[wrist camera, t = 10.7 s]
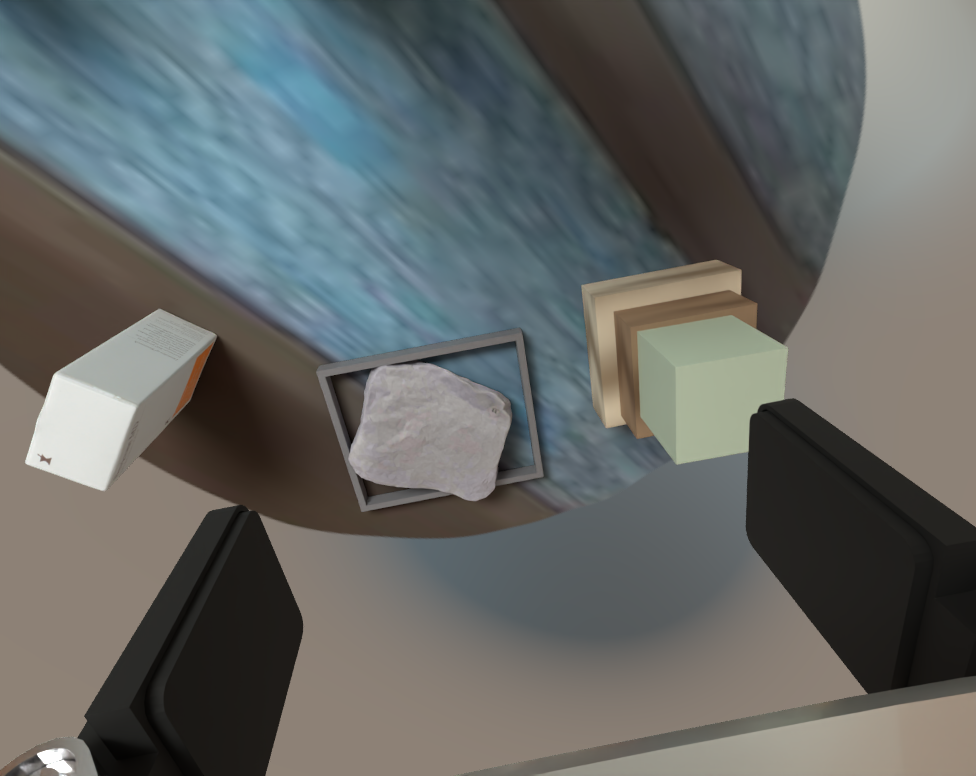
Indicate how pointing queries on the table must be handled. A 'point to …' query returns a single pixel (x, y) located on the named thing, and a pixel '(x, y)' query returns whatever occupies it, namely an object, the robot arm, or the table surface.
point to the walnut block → (665, 316)
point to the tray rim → (419, 353)
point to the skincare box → (118, 399)
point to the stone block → (430, 430)
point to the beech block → (631, 294)
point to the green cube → (707, 384)
